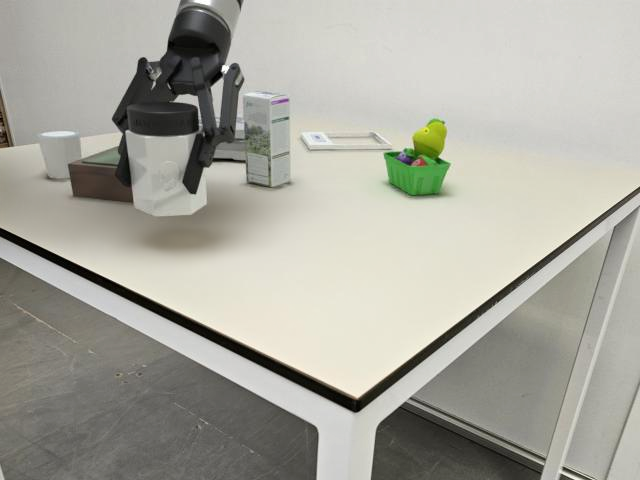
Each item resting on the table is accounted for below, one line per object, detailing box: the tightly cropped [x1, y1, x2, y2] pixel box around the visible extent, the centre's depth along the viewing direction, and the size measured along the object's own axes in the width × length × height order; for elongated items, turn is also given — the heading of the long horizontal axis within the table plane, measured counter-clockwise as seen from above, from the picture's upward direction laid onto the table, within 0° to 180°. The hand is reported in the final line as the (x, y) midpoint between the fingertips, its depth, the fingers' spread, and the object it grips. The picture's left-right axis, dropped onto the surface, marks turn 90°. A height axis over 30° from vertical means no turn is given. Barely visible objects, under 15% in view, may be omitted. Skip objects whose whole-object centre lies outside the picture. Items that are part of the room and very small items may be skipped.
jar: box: [126, 101, 208, 217], centre depth 73 cm, size 9×8×12 cm
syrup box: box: [242, 90, 292, 188], centre depth 101 cm, size 6×6×14 cm
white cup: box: [36, 129, 83, 180], centre depth 104 cm, size 7×7×7 cm
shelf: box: [68, 145, 134, 203], centre depth 97 cm, size 14×14×5 cm
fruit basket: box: [383, 117, 452, 196], centre depth 101 cm, size 11×9×11 cm
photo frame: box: [300, 131, 393, 151], centre depth 136 cm, size 15×1×18 cm
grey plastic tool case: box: [198, 112, 246, 161], centre depth 122 cm, size 19×28×8 cm
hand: (155, 184), depth 71 cm, fingers closed on jar, 8 cm apart
